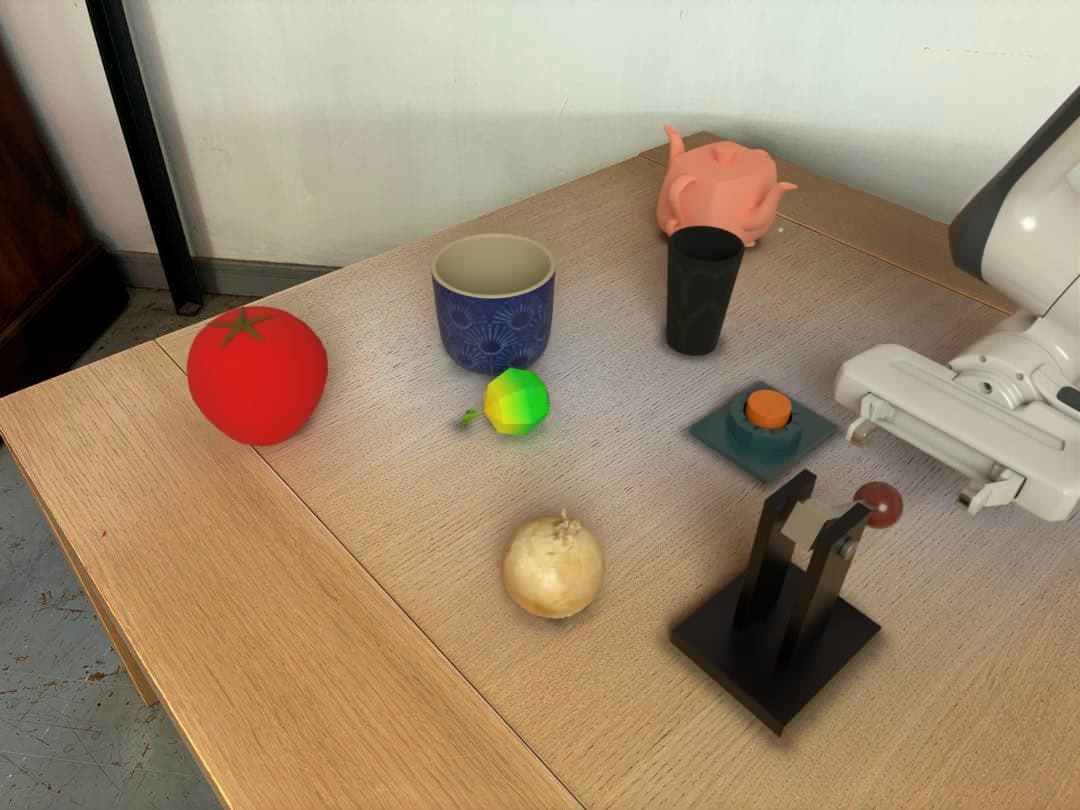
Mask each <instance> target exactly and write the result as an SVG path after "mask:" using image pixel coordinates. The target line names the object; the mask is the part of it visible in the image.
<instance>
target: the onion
mask: <svg viewBox="0 0 1080 810" xmlns="http://www.w3.org/2000/svg"><path fill="white" fill-rule="evenodd" d="M566 511H567V509H565V508H563V509H561V511H560V512H561V516H562V517H554V516H553V517H552V516H551V517H541V518H537V519H534V520H530V521H528V522H527V523H525V524H523V525H522V526H520V527H519V528H518V529H516V530H514V532H513V534H511V536H510V537H509V539H508V540H507V542H506V543H505V546H504V547H503V551H502V554H501V559H500V572H501V573H500V574H501V579H502V582H503V586H504V587H505V590H506V591H507V593H508V594H509V596H510V598H511V599H512V600H513V601H514V602H515V603H516V604H517V605H518V606H519V607H521V608H522V609H523V610H525V611H526V612H528V613H530V614H531V615H534V616H538V617H540V618H541V617H542V618H547V619H554V620H556V619H558V620H560V619H564V618H568V617H569V618H570V617H571V616H573V615H575V614H578V613H579V612H581V611H582V610H584V609H585V608H586V607H587V606H589V605H590V604H591V603H592V602H593V601H594V599H596V596H597V595H598V594H599V591H600V590H601V587H602V585H603V583H604V582H603V581H604V579H605V571H606V570H605V563H606V562H605V552H604V549H603V547H602V545H601V543H600V541H599V539H598V538H597V537H596V535H595V534H594V533H593V532H592V531H590V529H588V528H586V527H585V526H583V525H582V522H581V521H580V520H579V519H577V518H573V517H571V516H570V517H569V516H567V513H566Z"/></svg>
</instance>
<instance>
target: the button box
mask: <svg viewBox="0 0 1080 810" xmlns="http://www.w3.org/2000/svg"><path fill="white" fill-rule="evenodd" d="M759 390H772V391H776V392H779V393H781V394H783V395H784V396H786V397H787V398H788V399H789V400H790V402H791V405H792V409H791V412H790V416H789V420H788V422H787V424H786V425H785V426H783V427H781V428H775V429H769V428H764V427H760V426H757V425H755V424H754V423H752V422H751V421H749V420H748V418H747V417H746V407H747V402H748V398H749V396H750V395H751V394H752V393H754V392H756V391H759ZM837 428H838V425H837V424H836V423H834V422H832V421H830V420H829V419H827V418H826V417H823V416H822V415H821V414H819V413H817V412H816V411H814V410H812V409H810V408H808V407H807V406H805V405H803V404H802V403H800V402H799V401H797V400H795V399H793V398H792V397H790V396H788V395H787V394H785V393H783V392H781V391H780V390H778V389H776V388H774V387H773V386H771V385H769V384H767V383H766V382H764V381H762V380H761V381H759V382H758V383H756V384H755V385H754V386H752V387H751V388H749V389H748V390H744V391H742V392H741V393H739V394H738V395H736V396H734V397H733V398H732V399H731V401H728V402H727V403H726V404H724V405H723V406H721V407H719V408H718V409H717V410H716V411H713V413H711V414H709V415H708V416H706V417H705V418H703V419H701V420H700V421H698V422H697V423H696V424H694V425H692V426H691V427H690V430H689V434H691V435H692V436H694V437H695V438H696V439H698V440H700V441H701V442H703V443H704V444H706V445H707V446H709V447H710V448H712V449H713V450H714V451H716V452H717V453H719V454H720V455H722V456H723V457H725V458H726V459H728V460H729V461H731V462H733V463H734V464H735V465H737V466H738V467H740V468H741V469H743V470H744V471H746V472H747V473H748V474H750V475H751V476H753V477H755V478H756V479H757V480H759V481H761V482H762V483H763V484H765V485H766V484H767V483H769V482H770V481H771V480H773V479H774V478H775V477H777V476H778V475H779V474H781V473H782V472H783V471H785V470H786V469H788V467H791V465H792V464H795V462H796V461H798V460H799V459H800V458H802V457H803V456H805V454H807V453H808V452H809V451H811V450H812V449H813V448H815V447H816V446H818V445H819V444H821V442H823V441H824V440H825V439H827V438H829V436H831V435H832V434H833V433H835V432H836V431H837Z"/></svg>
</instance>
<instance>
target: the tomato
mask: <svg viewBox="0 0 1080 810" xmlns="http://www.w3.org/2000/svg"><path fill="white" fill-rule="evenodd" d="M186 361H187V362H186V376H187V384H188V385H187V386H188V391H189V393H190V395H191V399H192V401H193V403H194V404H195V405H196V407H197V408H198V410H199V411H200V413H201V414H202V415H203V416H204V418H205V419H206V420H207V421H208V422H209V423H211V425H212V426H213V427H215V428H216V429H217V430H218V431H220V432H221V433H222V434H224V435H225V436H227V437H229V438H230V439H231V440H232V441H235V442H238V443H240V444H242V445H248V446H255V447H268V446H274V445H277V444H280V443H282V442H283V441H286V440H287V439H289V438H290V437H291V436H293V435H294V434H295V433H297V432H298V431H299V430H301V428H302V427H303V426H304V425H305V424H306V423H307V422H308V421H309V419H310V418H311V417H312V415H313V414H314V412H315V411H316V409H317V407H318V405H319V403H320V401H321V398H322V396H323V395H324V391H325V388H326V384H327V379H328V374H329V361H328V354H327V350H326V348H325V346H324V344H323V342H322V340H321V338H320V337H319V336H318V335H317V334H316V333H315V332H314V330H313V329H312V328H311V327H310V326H309V325H308V324H307V323H306V322H305V321H304V320H301V319H300V318H298V317H297V316H295V315H293V314H292V313H290V312H288V311H287V310H285V309H280V308H275V307H270V306H265V305H250V306H248V305H247V306H244V304H242V305H241V306H240V307H236V308H233V309H230V310H227V311H225V312H224V313H222V314H220V315H218V316H217V317H215V318H214V319H212V320H210V321H209V322H208V323H206V324H205V326H203V328H202V329H201V330H199V332H197V334H196V335H195V337H194V339H193V341H192V343H191V346H190V348H189V351H188V355H187V360H186Z"/></svg>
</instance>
